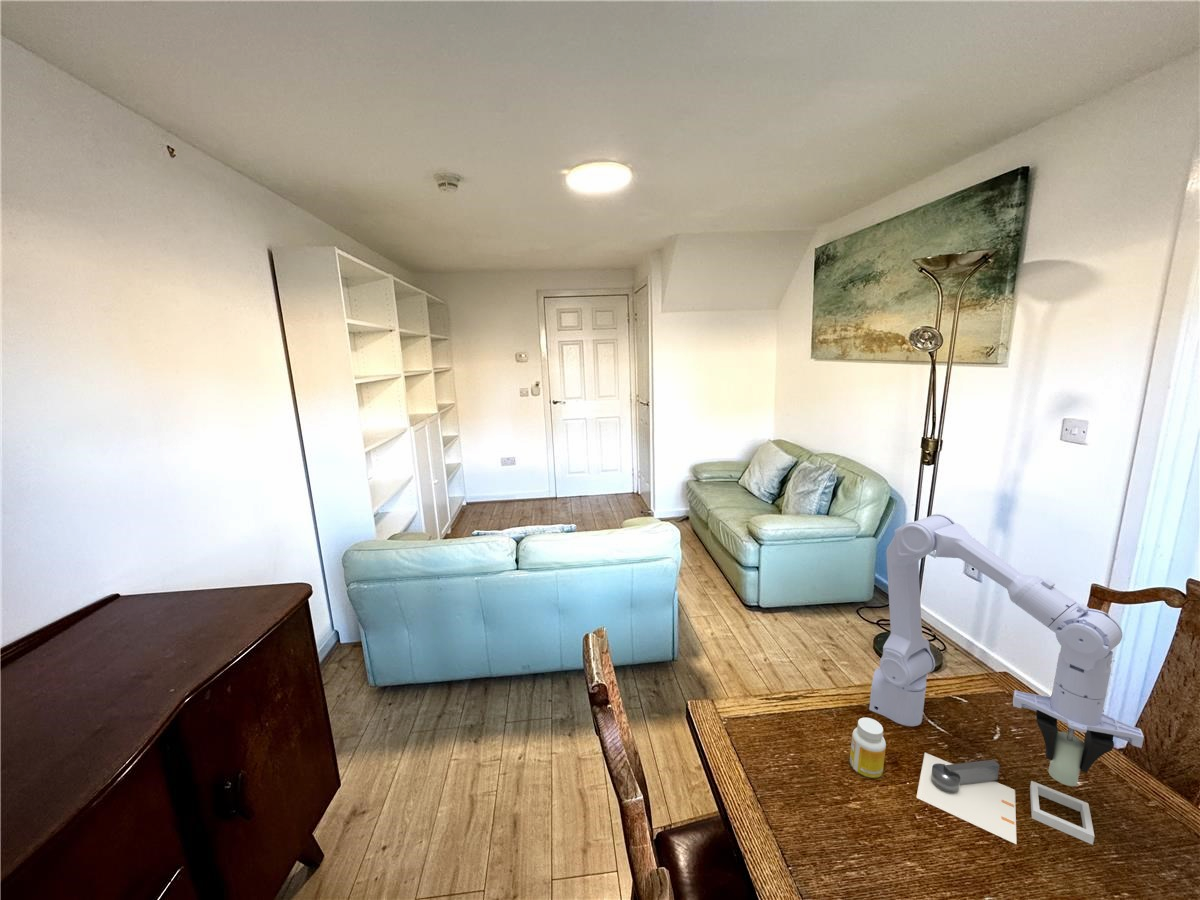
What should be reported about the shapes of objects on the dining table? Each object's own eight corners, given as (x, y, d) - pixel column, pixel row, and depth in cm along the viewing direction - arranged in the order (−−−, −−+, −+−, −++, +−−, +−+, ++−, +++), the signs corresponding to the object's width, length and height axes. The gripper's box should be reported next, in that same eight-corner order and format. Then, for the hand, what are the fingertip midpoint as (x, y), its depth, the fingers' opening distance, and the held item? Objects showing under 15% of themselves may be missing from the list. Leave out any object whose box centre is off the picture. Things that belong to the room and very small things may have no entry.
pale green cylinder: (1049, 778, 78) (1058, 730, 76) (1047, 764, 81) (1055, 717, 79) (1078, 789, 76) (1088, 740, 74) (1075, 775, 79) (1084, 727, 77)
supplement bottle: (842, 763, 90) (846, 718, 89) (864, 755, 92) (868, 710, 90) (867, 787, 85) (872, 740, 84) (889, 777, 87) (894, 731, 85)
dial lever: (943, 794, 82) (945, 779, 82) (925, 774, 86) (927, 759, 86) (1004, 786, 83) (1007, 772, 83) (984, 767, 87) (986, 753, 87)
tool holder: (1030, 823, 78) (1033, 810, 78) (1029, 792, 84) (1031, 780, 83) (1091, 849, 74) (1094, 836, 73) (1085, 816, 79) (1088, 803, 79)
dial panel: (915, 802, 82) (916, 796, 82) (924, 756, 91) (924, 751, 91) (1015, 849, 74) (1016, 843, 74) (1014, 794, 83) (1015, 789, 83)
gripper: (1019, 682, 77) (1007, 755, 79) (1155, 723, 68) (1137, 804, 70) (1017, 660, 82) (1006, 729, 85) (1143, 695, 73) (1127, 772, 76)
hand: (1065, 761), depth 78 cm, fingers closed on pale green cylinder, 3 cm apart
